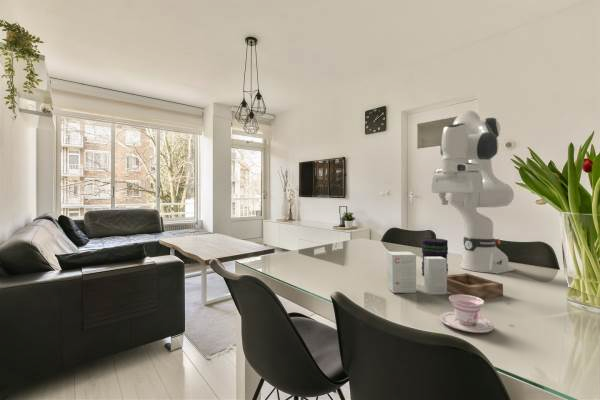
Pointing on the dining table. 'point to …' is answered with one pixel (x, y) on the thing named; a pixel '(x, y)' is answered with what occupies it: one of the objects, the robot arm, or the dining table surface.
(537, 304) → the dining table surface
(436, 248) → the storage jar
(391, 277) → the small box
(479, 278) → the wooden tray
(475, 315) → the teacup
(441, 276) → the skincare box
